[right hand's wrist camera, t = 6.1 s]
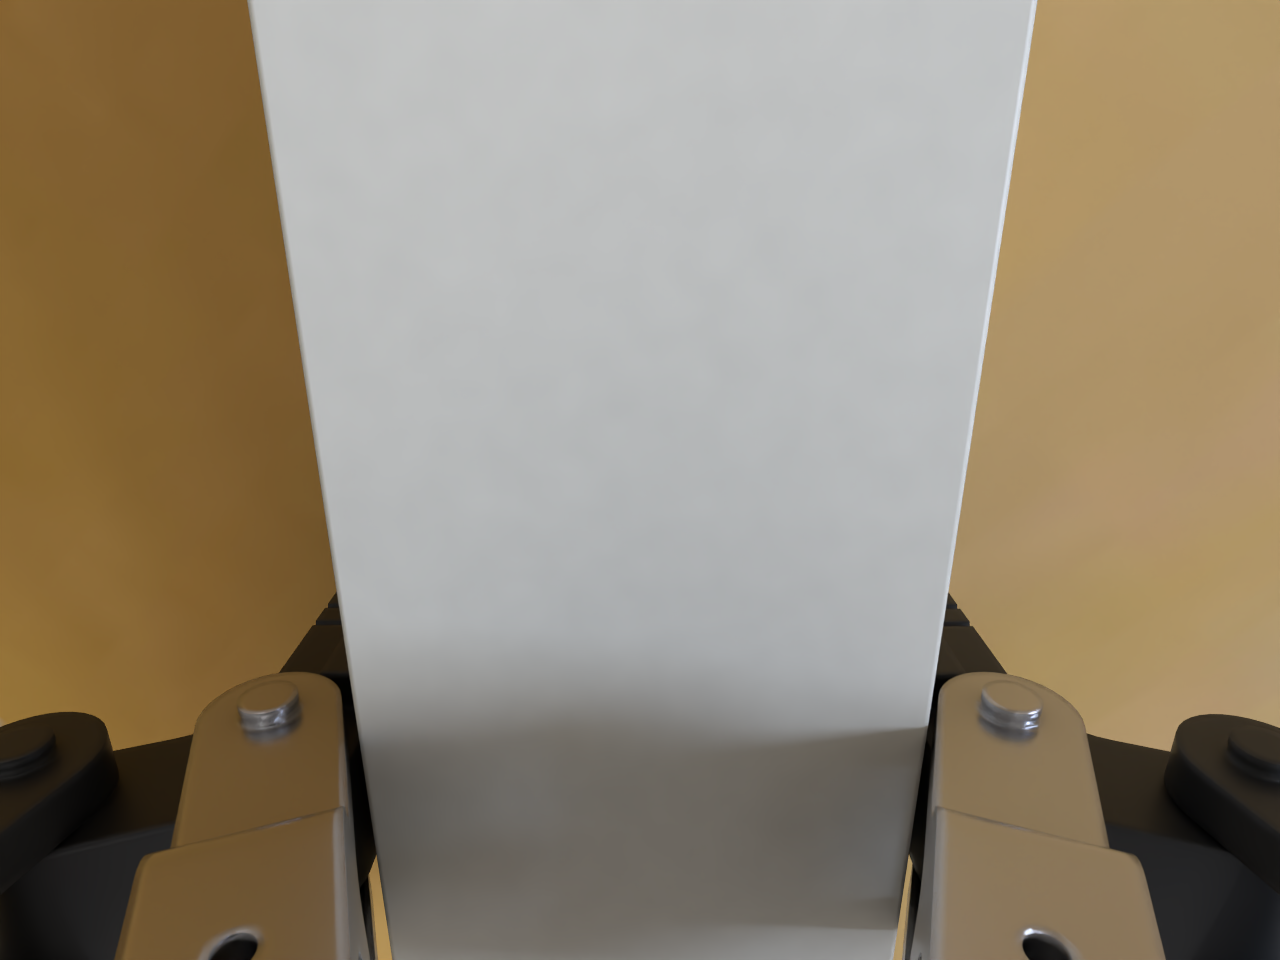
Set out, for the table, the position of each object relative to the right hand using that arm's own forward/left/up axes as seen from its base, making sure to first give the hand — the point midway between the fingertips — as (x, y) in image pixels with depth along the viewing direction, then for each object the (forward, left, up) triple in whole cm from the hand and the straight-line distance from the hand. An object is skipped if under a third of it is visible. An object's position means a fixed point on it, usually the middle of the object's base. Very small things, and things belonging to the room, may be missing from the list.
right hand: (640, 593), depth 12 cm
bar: (+8, -24, -2) cm, 25 cm away
